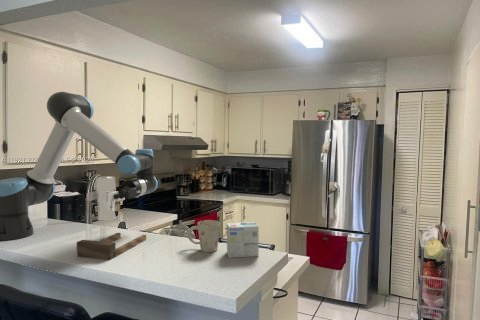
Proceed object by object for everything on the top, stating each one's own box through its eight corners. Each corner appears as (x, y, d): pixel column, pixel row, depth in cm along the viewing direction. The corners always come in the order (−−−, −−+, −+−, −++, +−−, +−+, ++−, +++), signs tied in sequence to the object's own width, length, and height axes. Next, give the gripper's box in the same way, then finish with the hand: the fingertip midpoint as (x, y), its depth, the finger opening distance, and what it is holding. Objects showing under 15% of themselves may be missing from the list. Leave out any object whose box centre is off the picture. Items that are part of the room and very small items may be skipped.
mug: (216, 254, 125) (217, 226, 124) (183, 251, 127) (183, 224, 127) (222, 247, 133) (222, 220, 132) (190, 244, 136) (190, 219, 135)
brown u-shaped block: (117, 237, 145) (117, 225, 145) (146, 239, 142) (146, 227, 141) (77, 256, 122) (76, 242, 121) (110, 259, 119) (110, 245, 118)
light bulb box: (255, 250, 129) (255, 221, 128) (259, 256, 122) (259, 226, 122) (226, 252, 127) (226, 222, 127) (228, 258, 121) (228, 227, 120)
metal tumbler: (115, 220, 124) (114, 178, 123) (94, 221, 123) (92, 178, 122) (118, 216, 131) (117, 176, 130) (98, 217, 130) (97, 176, 129)
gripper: (155, 198, 141) (123, 210, 119) (111, 196, 146) (72, 207, 124) (155, 179, 141) (122, 187, 119) (111, 178, 146) (72, 185, 123)
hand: (97, 197), depth 121 cm, fingers closed on metal tumbler, 7 cm apart
